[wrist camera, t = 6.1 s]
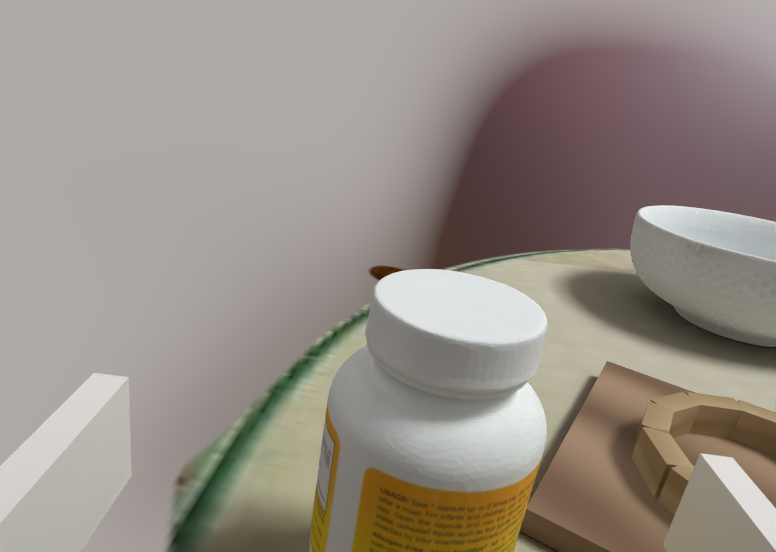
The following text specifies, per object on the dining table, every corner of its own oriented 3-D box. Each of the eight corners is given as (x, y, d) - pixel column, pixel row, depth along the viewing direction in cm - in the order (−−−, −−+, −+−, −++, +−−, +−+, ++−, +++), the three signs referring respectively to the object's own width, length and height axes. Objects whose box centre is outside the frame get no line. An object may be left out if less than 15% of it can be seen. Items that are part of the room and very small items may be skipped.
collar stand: (602, 376, 31) (614, 336, 30) (925, 497, 24) (953, 451, 24) (519, 531, 19) (536, 472, 18) (1089, 833, 13) (1156, 766, 12)
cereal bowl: (727, 283, 52) (755, 209, 50) (927, 379, 37) (982, 281, 35) (571, 277, 47) (593, 194, 45) (730, 385, 32) (777, 271, 30)
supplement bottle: (266, 581, 16) (293, 272, 13) (400, 505, 20) (449, 248, 16) (390, 753, 13) (473, 386, 9) (527, 622, 16) (622, 323, 13)
